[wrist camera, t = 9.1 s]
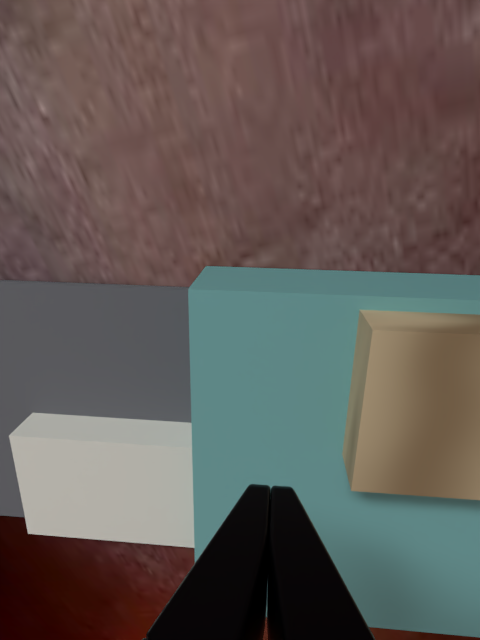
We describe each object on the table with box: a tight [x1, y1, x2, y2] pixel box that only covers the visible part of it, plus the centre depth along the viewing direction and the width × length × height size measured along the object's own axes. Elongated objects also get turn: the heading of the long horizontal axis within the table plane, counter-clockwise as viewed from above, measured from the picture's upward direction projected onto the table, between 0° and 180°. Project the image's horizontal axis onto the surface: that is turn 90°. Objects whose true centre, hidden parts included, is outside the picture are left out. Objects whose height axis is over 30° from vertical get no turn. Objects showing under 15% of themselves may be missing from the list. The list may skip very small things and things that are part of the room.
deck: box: [188, 266, 480, 637], centre depth 18 cm, size 14×16×4 cm
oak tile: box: [342, 310, 480, 500], centre depth 14 cm, size 6×6×2 cm
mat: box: [0, 280, 191, 517], centre depth 21 cm, size 13×14×1 cm
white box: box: [9, 413, 195, 548], centre depth 21 cm, size 9×6×2 cm, turn 89°
